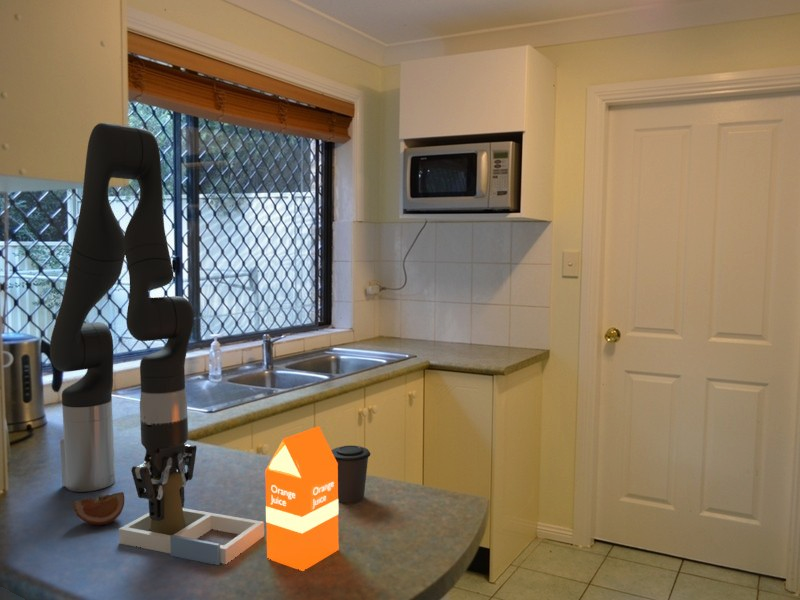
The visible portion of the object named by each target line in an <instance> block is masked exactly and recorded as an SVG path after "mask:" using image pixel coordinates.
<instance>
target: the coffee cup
mask: <svg viewBox="0 0 800 600" xmlns="http://www.w3.org/2000/svg"><path fill="white" fill-rule="evenodd" d="M331 451H332V453H333V455H334V457H335V459H336V461H337V463H338V503H341V504H347V505H349V504H350V505H352V504H357V503H361V502H363V500H364V498H365V491H366V480H367V473H368V472H367V470H368V463H369V457H370V456H371V452H370V450H369V449H368V448H366V447H363V446H360V445H343V446H339V447H335V448H333V449H331Z"/></svg>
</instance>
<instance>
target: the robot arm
mask: <svg viewBox="0 0 800 600" xmlns="http://www.w3.org/2000/svg"><path fill="white" fill-rule="evenodd" d="M83 176H84V178H83V186H82V196H81V202H80V209H79V213H78V219H77V223H76V228H75V232H74V238H73V241H72V246H71V250H70V256H69V261H68V269H67V276H66V279H65V281H66V282H65V286H64V291H63V295H62V300H61V301H60V302H61V303H60V306H59V308H58V309H59V310H58V313H57V316H56V320H55V323H54V326H53V329H52V333H51V337H50V344H49V357H50V361H51V364H52V365H53V367H54V369H56V370H58V371H60V372H73V371H83V370H86V372H85V374H84V376H82V377H81V378H80V379H79V380H77V381H76V382H74V383H73V384H71V385H69V386H67V387H66V388H64V389H63V391H62V392H61V406H62V407H61V408H62V409H61V410H62V424H63V427H62V428H63V439H61V440H60V463H61V481H62V485H61V486H62V487H65V488H66V489H67V490H68V491H72V492H76V493H77V492H78V493H79V492H81V493H83V492H93V491H98V490H102V489H105V488H107V487H110V486H112V485H113V484H114V483H116V471H115V469H116V467H115V446H114V445H115V443H114V422H113V421H114V420H113V418H114V417H113V397H112V392H113V387H114V339H113V335H112V332H111V329H110V328H109V326H108V325H107V324H105V322H100V321H99V322H97V321H95V322H86V323H85V321H86V319H87V316H88V315H89V313H90V312H91V311H92V310H93V308H94V307H95V306H96V305H97V304H98V303H99V302H100V301H101V300H102V299H103V298H104V297H105V296H106V294H107V293H108V292H109V291H110V290H111V289H112V288H113V287H114V286H115V284H116V283H117V282H118V280H119V279H120V276H121V274H122V269H123V266H124V262H125V261H126V265H127V266H126V267H127V270H128V276H129V278H128V279H129V297H128V302H127V303H128V305H127V310H126V311H127V312H126V327H127V330H128V332H129V334H130V335H131V336H132V338H134V339H135V340H137V341H140V342H149V341H159V340H161V341H162V340H167V341H166V344H165V345H164V347H162V349H160V350H158V351H155V352H152V353H150V354H146V355H145V356H144V357H142V358H141V360H140V363H139V374H140V377H139V378H140V399H139V414H140V416H139V417H140V419H139V420H140V442H141V443H140V444H141V445H142V446H143V447H144V448H145V455H144V459H143V462H141V464H140V465H133V466H132V467H131V475H132V479H133V483H134V486H135V489H136V492H137V497H138V498H139V499H145V500H148V511H149V512H148V513H149V516H150V518H151V519H152V520H156V521H161V520H162V519H163V518H164V507H163V498H162V496H163V486H164V485H166V484H167V482H168V476H169V474H171V473H173V472H179V473H180V474H181V476H182V479H183V483H182V487H181V489H180V490H179V491H180V497H181V503H182V508H185V487H186V485H187V482H188V481H191V480H192V479H193V477H194V472H195V471H194V469H195V462H196V453H197V445H193V444H186V443H187V442H188V440H189V426H188V425H189V423H188V420H189V416H188V400H187V399H188V398H187V393H186V378H185V377H186V376H185V375H186V374H185V364H186V357H187V353H188V348H189V343H190V339H191V336H192V333H193V328H194V323H195V313H194V309H193V306H192V304H191V302H190V301H189V300H188V299H187V298H185V297H184V296H179V295H178V296H177V295H176V296H175V295H173V296H161V297H160V296H159V297H158V296H157V297H150V296H149V292H150V291H153V290H157V289H160V288H163V287H166V286H167V285H169V284H170V283H171V282H172V281H173V279H174V268H173V263H172V259H171V255H170V254H171V253H170V251H169V245H168V241H167V235H166V229H165V220H164V219H165V218H164V217H165V216H164V198H163V197H164V196H163V195H164V194H163V181H162V178H163V177H162V164H161V153H160V147H159V144H158V140H157V138H156V136H155V135H154V133H153V132H152V131H150V130H148V129H145V128H141V127H135V126H129V125H128V126H127V125H121V124H116V123H106V122H100V123H97V124H96V125H95V126H94V127H93V129H92V130H91V133H90V135H89V140H88V143H87V149H86V158H85V166H84V175H83ZM113 178H115V179H125V180H133V181H135V180H136V181H137V183H138V186H139V199H138V200H139V201H138V202H137V204H136V208H135V209H134V212H133V213H132V215H131V217H130V218H129V219H130V220H129V222H128V223H127V226H126V229H125V231H123V230H122V227H121V225H120V223H119V220H118V219H117V217H116V215H115V213H114V211H113V208H112V206H111V203H110V199H109V186H110V181H111V179H113ZM186 466H187V469H186ZM154 476H157V477H161V479H160V480H158V479H154ZM153 484H156V485H157V490H156V491H154V488H153Z"/></svg>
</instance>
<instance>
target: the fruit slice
mask: <svg viewBox="0 0 800 600" xmlns="http://www.w3.org/2000/svg"><path fill="white" fill-rule="evenodd" d="M72 504H73V510H72V511H73V512H74V513H75V515H76V517H77V518H78V519H80V520H82V521H83V522H85V523H86V524H90V525H93V526H94V525H95V526H104V525H108V524H110V523H112V522H113V521H115V520H117V519H118V517H119V516H120V515H121V514H122V512H123V509H124V505H125V493H124V492H123V491H121V492H116V493H112V494H105V495H101V496H100V495H99V496H98V497H96V498H86V499H79V500H73V501H72Z"/></svg>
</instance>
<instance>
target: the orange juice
mask: <svg viewBox="0 0 800 600" xmlns="http://www.w3.org/2000/svg"><path fill="white" fill-rule="evenodd" d="M331 450H332V449H331V447H330V445H329V444H328V442H327V439H326V438H325V435H324V433H323V431H322V429H321V427H320V426H319V425H318V426H316V427H312V428H310V429H307V430H305V431H301V432H299V433H296V434H293V435H290V436H287V437H284V438H282V441H281V443H279V447H278V448H277V449H276V451H275V453H274V455H273V457H272V458H271V460H270V462H269V464H268V465H267V467H266V469H265V470H264V471H265V523H266V524H265V525H266V559H267V558H269V559H268V560H270V559H271V561H273V562H275V563H276V562H277V563H278V564H282V565H284V566H287V567H290V568H293V569H295V570H298V569H299V571H302V572H304V571H306V570H307V569H309V568H310V567H313V566H314V565H316V564H317V563H319V562H321V561H323V560H324V559H325V558H327V557H329V556H330V555H332V554H333V553H335V552H337V551H339V550H340V549H339V548H340V547H339V502H338V463H337V461H336V459H335V457H334V455H333V453H332V451H331ZM305 569H306V570H305Z"/></svg>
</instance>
